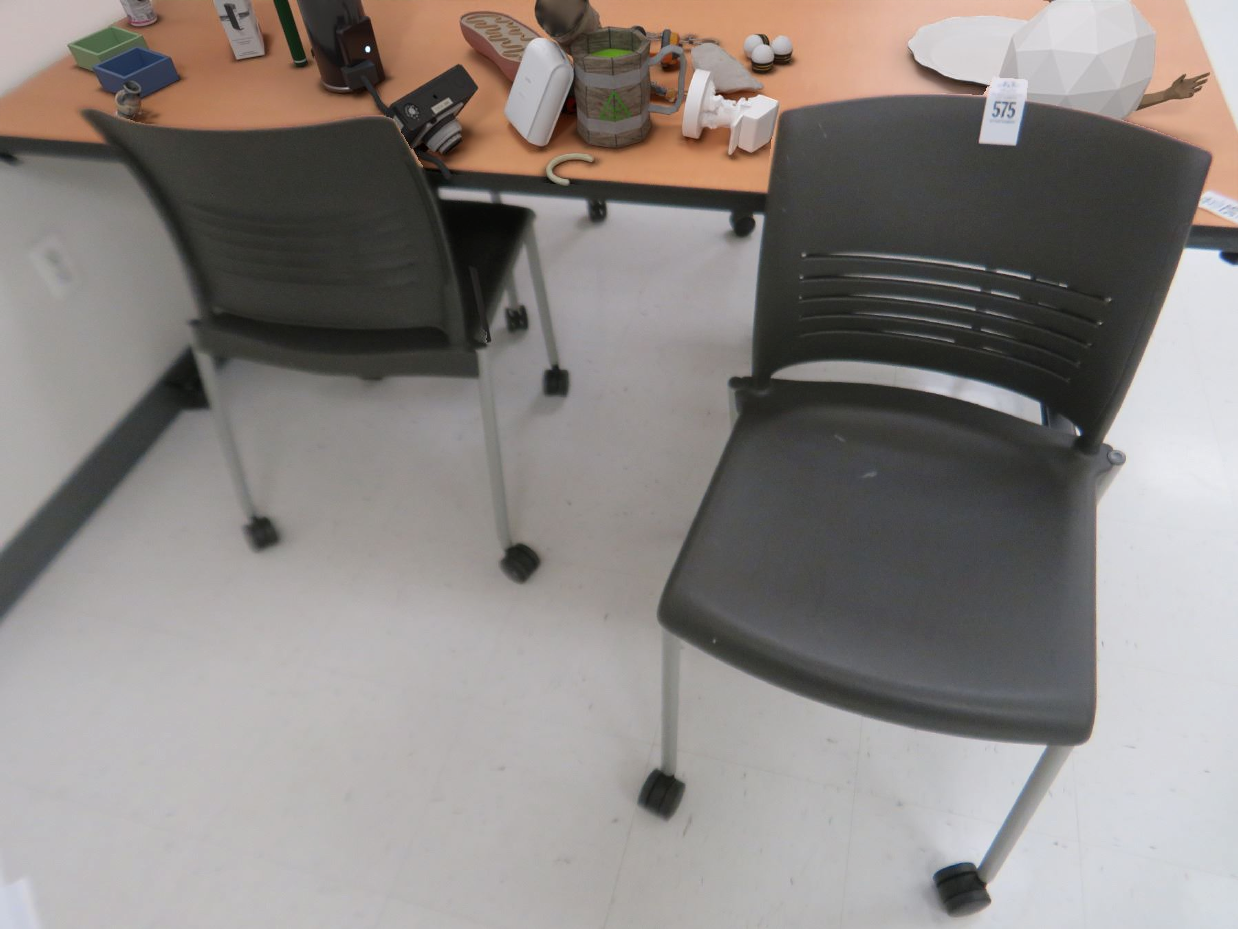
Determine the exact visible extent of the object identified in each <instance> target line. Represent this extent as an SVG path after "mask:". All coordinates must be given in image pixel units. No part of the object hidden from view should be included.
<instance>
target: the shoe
mask: <svg viewBox="0 0 1238 929" xmlns="http://www.w3.org/2000/svg"><path fill="white" fill-rule="evenodd" d="M458 20H459V25H460V26H459V27H460V31H461V34H462V36H463V38H464V40H465V41H466V42H467V44H468V45H469V46H470V47H471V48H472V49H474V50H475V51H477V52H479V53H480V54H482V55H483V56H485V57H486V58H488V59H489V60H491V61H492V62H493V63H494V64H495V65H496V66H498V68H499V69H500V70H501V72H502V73H503V74H504V76H505V77H506V78H507V79H508V80H509V81H510V82H512V83H514V80H515V77H516V74H517V72H518V69H519V66H520V63H521V60H522V58H523V55H524V52H525V50H526V47H527V45H528V44H529V43H530V42H531V41H532V40H533V39H536V38H544V36H543V35H542V34H540V33H539V32H538V31H537V30H535V29H534V28H532V27H530V26H529V25H528V24H526V23H524V22H522V21H521V20H519V19H518V18H515V17H513V16H512V15H509V14H507V13H504V12H500V11H495V10H474V11H467V12H466V13H465V12H464V13H462V15H460V16H459V19H458Z"/></svg>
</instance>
